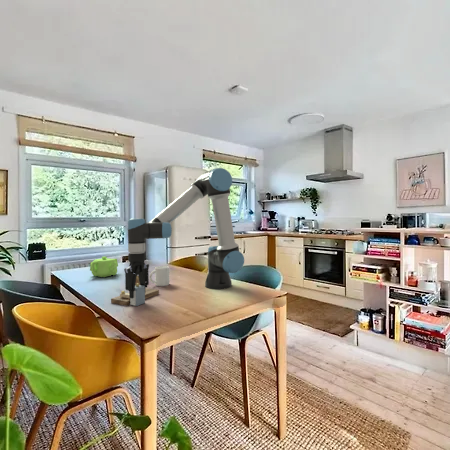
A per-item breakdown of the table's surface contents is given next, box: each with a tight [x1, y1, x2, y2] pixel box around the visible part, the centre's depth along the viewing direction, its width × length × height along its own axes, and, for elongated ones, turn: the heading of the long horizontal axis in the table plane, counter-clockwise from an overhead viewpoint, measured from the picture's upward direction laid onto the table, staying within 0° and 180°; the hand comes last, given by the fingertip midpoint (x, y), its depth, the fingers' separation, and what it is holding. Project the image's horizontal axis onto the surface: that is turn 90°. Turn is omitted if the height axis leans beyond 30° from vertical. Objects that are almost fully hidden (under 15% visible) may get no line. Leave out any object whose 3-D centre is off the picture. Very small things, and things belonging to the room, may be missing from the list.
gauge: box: [119, 283, 146, 307], centre depth 135 cm, size 12×5×9 cm, turn 63°
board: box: [110, 287, 160, 307], centre depth 143 cm, size 10×22×2 cm, turn 153°
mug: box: [149, 265, 171, 287], centre depth 169 cm, size 12×8×10 cm
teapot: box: [89, 256, 119, 278], centre depth 195 cm, size 18×20×13 cm
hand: (137, 303), depth 133 cm, fingers closed on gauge, 5 cm apart
